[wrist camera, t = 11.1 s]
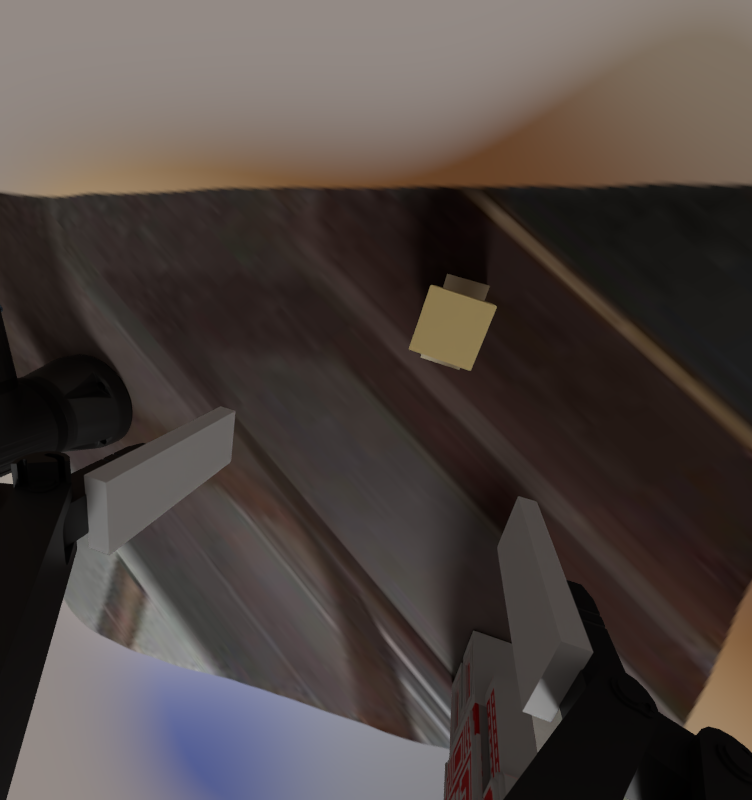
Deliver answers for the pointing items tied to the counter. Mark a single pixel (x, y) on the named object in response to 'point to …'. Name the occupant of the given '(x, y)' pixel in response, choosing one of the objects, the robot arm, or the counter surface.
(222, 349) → the counter surface
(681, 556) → the counter surface
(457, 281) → the birch plinth
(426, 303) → the ochre cube
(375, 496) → the counter surface
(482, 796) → the toy
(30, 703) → the robot arm
